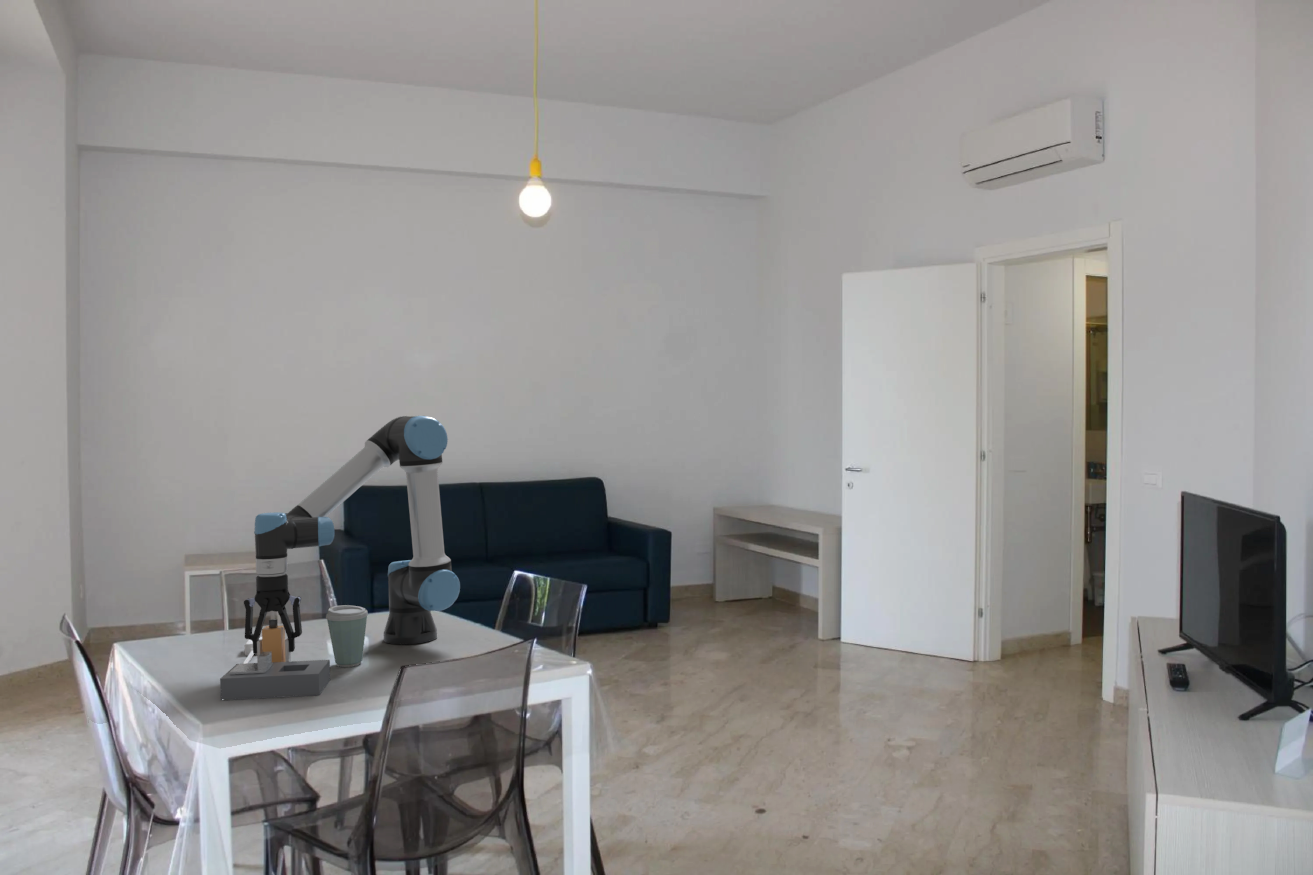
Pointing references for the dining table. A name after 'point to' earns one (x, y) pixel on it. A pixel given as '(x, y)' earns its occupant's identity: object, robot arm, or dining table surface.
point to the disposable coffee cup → (347, 633)
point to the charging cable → (249, 650)
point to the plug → (274, 640)
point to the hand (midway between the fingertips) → (274, 665)
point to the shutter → (255, 665)
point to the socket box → (278, 681)
